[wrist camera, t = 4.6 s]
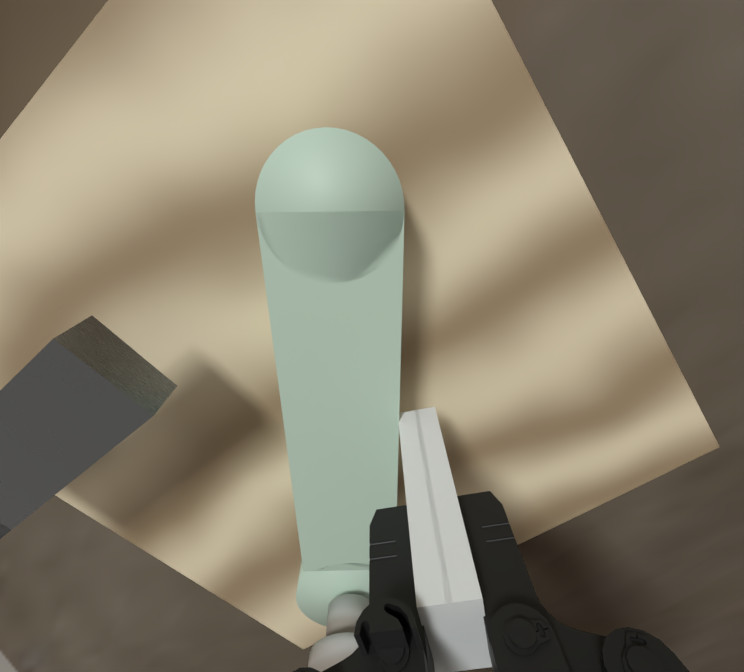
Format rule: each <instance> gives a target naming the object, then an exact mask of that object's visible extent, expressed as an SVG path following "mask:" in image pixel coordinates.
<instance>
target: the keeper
mask: <svg viewBox="0 0 744 672" xmlns="http://www.w3.org/2000/svg"><path fill="white" fill-rule="evenodd" d="M176 387H177V385H176V384H174V383H173V382H172V381H171V380H170V379H168V378H167V377H166V376H165V375H164V374H162V373H161V372H160V371H159V370H158V369H156V368H155V367H154V366H153V365H151V364H150V363H149V362H148V361H147V360H145V359H144V358H143V357H142V356H141V355H139V354H138V353H137V352H136V351H135V350H133V349H132V348H131V347H130V346H129V345H127V344H126V343H125V342H124V341H123V340H121V339H120V338H119V337H118V336H117V335H115V334H114V333H113V332H112V331H111V330H109V329H108V328H107V327H106V326H104V325H103V324H102V323H101V322H100V321H98V320H97V319H96V318H95V317H94V316H90V317H88V318H87V319H85V320H83V321H82V322H80V323H78V324H77V325H75V326H73V327H72V328H70V329H68V330H67V331H65V332H63V333H62V334H60V335H58V336H57V337H55V338H53V339H52V340H51V341H50V342H49V343H48V344H47V345H46V346H45V347H44V348H43V349H42V350H41V351H40V352H39V353H38V354H37V355H36V356H35V357H34V358H33V359H32V360H31V361H30V362H29V363H28V364H27V365H26V366H25V367H24V368H23V369H22V370H21V371H20V372H19V373H18V374H17V375H15V376H14V377H13V378H12V379H11V380H10V381H9V382H8V383H7V384H6V385H5V386H4V387H3V388H2V389H1V390H0V539H1V538H2V537H3V536H4V535H6V534H7V533H8V532H9V531H11V530H12V529H13V528H14V527H16V526H17V525H18V524H19V523H21V522H22V521H23V520H24V519H25V518H27V517H28V516H29V515H30V514H32V513H33V512H34V511H35V510H37V509H38V508H39V507H40V506H42V505H43V504H44V503H45V502H47V501H48V500H49V499H50V498H52V497H53V496H54V495H55V494H57V493H58V492H59V491H60V490H62V489H63V488H64V487H65V486H67V485H68V484H69V483H70V482H72V481H73V480H74V479H75V478H77V477H78V476H79V475H80V474H82V473H83V472H84V471H85V470H87V469H88V468H89V467H90V466H92V465H93V464H94V463H95V462H97V461H98V460H99V459H100V458H102V457H103V456H104V455H105V454H107V453H108V452H109V451H110V450H112V449H113V448H114V447H115V446H117V445H118V444H119V443H120V442H122V441H123V440H124V439H125V438H127V437H128V436H129V435H130V434H132V433H133V432H134V431H135V430H137V429H138V428H139V427H140V426H142V425H143V424H144V423H145V422H147V421H148V420H149V419H150V418H152V417H153V416H154V415H155V413H156V412H157V411H158V410H159V408H160V407H161V406H162V405H163V403H164V402H165V401H166V400H167V398H168V397H169V396H170V395H171V393H172V392H173V391H174V390H175V388H176Z"/></svg>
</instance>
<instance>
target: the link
mask: <svg viewBox="0 0 744 672" xmlns="http://www.w3.org/2000/svg"><path fill="white" fill-rule="evenodd" d="M255 212H256V220H257V228H258V235H259V243H260V250H261V258H262V265H263V273H264V280H265V287H266V295H267V302H268V310H269V317H270V325H271V332H272V340H273V347H274V355H275V362H276V370H277V377H278V385H279V392H280V400H281V407H282V415H283V422H284V430H285V437H286V445H287V452H288V460H289V467H290V475H291V482H292V490H293V497H294V505H295V512H296V520H297V527H298V535H299V542H300V550H301V557H302V560H301V566H300V572H299V579H298V585H297V592H296V601H297V605H298V607H299V608H300V610H301V611H302V612H303V613H304V614H305V616H307V617H308V618H309V619H311V620H312V621H314V622H316V623H318V624H320V625H323V626H326V627H327V617H328V606H329V603H330V602H331V601H332V600H333V599H334V598H336V597H338V596H341V595H345V594H357V595H361V596H364V597H366V598H367V599H369V562H370V559H369V547H370V544H369V529H370V523H371V521H372V519H373V516H374V514H375V512H376V510H377V509H383V508H390V507H396V506H397V485H398V446H399V423H398V421H399V407H400V368H401V329H402V290H403V251H404V213H405V210H404V197H403V190H402V187H401V184H400V180H399V178H398V176H397V173H396V171H395V169H394V168H393V166H392V164H391V163H390V161H389V160H388V159H387V157H386V156H385V155H384V154H383V152H381V151H380V150H379V149H378V148H377V147H376V146H375V145H374V144H373V143H371V142H370V141H368V140H367V139H365V138H364V137H362V136H360V135H358V134H356V133H353V132H350V131H348V130H344V129H339V128H330V127H322V128H313V129H309V130H305V131H302V132H300V133H298V134H295V135H293V136H292V137H290V138H288V139H287V140H285V141H284V142H283V143H282V144H280V145H279V146H278V147H277V148H276V149H275V150H274V151H273V152H272V154H271V155H270V156H269V158H268V159H267V161H266V162H265V164H264V166H263V168H262V170H261V172H260V175H259V178H258V181H257V186H256V191H255Z"/></svg>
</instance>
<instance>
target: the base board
mask: <svg viewBox="0 0 744 672" xmlns="http://www.w3.org/2000/svg"><path fill="white" fill-rule="evenodd" d="M322 127H330V128H339V129H344V130H348V131H350V132H353V133H356V134H358V135H360V136H362V137H364V138H365V139H367V140H368V141H370V142H371V143H373V144H374V145H375V146H376V147H377V148H378V149H379V150H380V151H381V152H383V154H384V155H385V156H386V157H387V159H388V160H389V161H390V163H391V164H392V166H393V168H394V169H395V171H396V173H397V176H398V178H399V180H400V184H401V187H402V190H403V197H404V210H405V213H404V251H403V290H402V329H401V368H400V407H399V413H402V412H408V411H414V410H419V409H425V408H430V407H435V409H436V413H437V417H438V421H439V425H440V429H441V433H442V437H443V441H444V445H445V449H446V453H447V457H448V461H449V465H450V469H451V473H452V477H453V482H454V486H455V490H456V494H457V496H460V495H466V494H473V493H479V492H486V491H490V492H491V493H492V494H493V495H494V496H495V497H496V498H497V499H498V500H499V501H500V502H501V503H502V504H503V507H504V510H505V513H506V515H507V518H508V521H509V524H510V526H511V529H512V532H513V534H514V538H515V540H516V542H517V545H519V544H521V543H523V542H525V541H527V540H529V539H531V538H533V537H535V536H537V535H539V534H541V533H543V532H545V531H548V530H550V529H552V528H554V527H556V526H558V525H560V524H562V523H564V522H566V521H568V520H570V519H572V518H574V517H576V516H578V515H580V514H582V513H585V512H587V511H589V510H591V509H593V508H595V507H597V506H599V505H601V504H603V503H605V502H607V501H609V500H611V499H613V498H615V497H617V496H620V495H622V494H624V493H626V492H628V491H630V490H632V489H634V488H636V487H638V486H640V485H642V484H644V483H646V482H648V481H650V480H652V479H654V478H657V477H659V476H661V475H663V474H665V473H667V472H669V471H671V470H673V469H675V468H677V467H679V466H681V465H683V464H685V463H687V462H689V461H691V460H694V459H696V458H698V457H700V456H702V455H704V454H706V453H708V452H710V451H712V450H714V449H716V448H718V447H719V445H718V443H717V441H716V439H715V437H714V435H713V433H712V431H711V429H710V427H709V425H708V423H707V421H706V419H705V417H704V416H703V414H702V412H701V410H700V408H699V406H698V404H697V402H696V400H695V398H694V396H693V394H692V392H691V390H690V388H689V386H688V384H687V382H686V380H685V378H684V376H683V374H682V372H681V371H680V369H679V367H678V365H677V363H676V361H675V359H674V357H673V355H672V353H671V351H670V349H669V347H668V345H667V343H666V341H665V339H664V337H663V335H662V333H661V331H660V329H659V327H658V326H657V324H656V322H655V320H654V318H653V316H652V314H651V312H650V310H649V308H648V306H647V304H646V302H645V300H644V298H643V296H642V294H641V292H640V290H639V288H638V286H637V284H636V282H635V280H634V279H633V277H632V275H631V273H630V271H629V269H628V267H627V265H626V263H625V261H624V259H623V257H622V255H621V253H620V251H619V249H618V247H617V245H616V243H615V241H614V239H613V237H612V235H611V234H610V232H609V230H608V228H607V226H606V224H605V222H604V220H603V218H602V216H601V214H600V212H599V210H598V208H597V206H596V204H595V202H594V200H593V198H592V196H591V194H590V192H589V190H588V189H587V187H586V185H585V183H584V181H583V179H582V177H581V175H580V173H579V171H578V169H577V167H576V165H575V163H574V161H573V159H572V157H571V155H570V153H569V151H568V149H567V147H566V145H565V144H564V142H563V140H562V138H561V136H560V134H559V132H558V130H557V128H556V126H555V124H554V122H553V120H552V118H551V116H550V114H549V112H548V110H547V108H546V106H545V104H544V102H543V100H542V99H541V97H540V95H539V93H538V91H537V89H536V87H535V85H534V83H533V81H532V79H531V77H530V75H529V73H528V71H527V69H526V67H525V65H524V63H523V61H522V59H521V57H520V55H519V54H518V52H517V50H516V48H515V46H514V44H513V42H512V40H511V38H510V36H509V34H508V32H507V30H506V28H505V26H504V24H503V22H502V20H501V18H500V16H499V14H498V12H497V10H496V8H495V7H494V5H493V3H492V1H491V0H108V1H107V3H106V4H105V5H104V6H103V8H102V9H101V10H100V12H99V13H98V14H97V15H96V17H95V18H94V19H93V21H92V22H91V23H90V24H89V26H88V27H87V28H86V30H85V31H84V32H83V33H82V35H81V36H80V37H79V39H78V40H77V41H76V42H75V44H74V45H73V46H72V48H71V49H70V50H69V51H68V53H67V54H66V55H65V57H64V58H63V59H62V60H61V62H60V63H59V64H58V66H57V67H56V68H55V69H54V71H53V72H52V73H51V75H50V76H49V77H48V78H47V80H46V81H45V82H44V84H43V85H42V86H41V87H40V89H39V90H38V91H37V93H36V94H35V95H34V97H33V98H32V99H31V100H30V102H29V103H28V104H27V106H26V107H25V108H24V109H23V111H22V112H21V113H20V115H19V116H18V117H17V118H16V120H15V121H14V122H13V124H12V125H11V126H10V127H9V129H8V130H7V131H6V133H5V134H4V135H3V136H2V138H1V139H0V390H1V389H2V388H3V387H4V386H5V385H6V384H7V383H8V382H9V381H10V380H11V379H12V378H13V377H14V376H15V375H17V374H18V373H19V372H20V371H21V370H22V369H23V368H24V367H25V366H26V365H27V364H28V363H29V362H30V361H31V360H32V359H33V358H34V357H35V356H36V355H37V354H38V353H39V352H40V351H41V350H42V349H43V348H44V347H45V346H46V345H47V344H48V343H49V342H50V341H51V340H52V339H53V338H55V337H57V336H58V335H60V334H62V333H63V332H65V331H67V330H68V329H70V328H72V327H73V326H75V325H77V324H78V323H80V322H82V321H83V320H85V319H87V318H88V317H90V316H94V317H95V318H96V319H97V320H98V321H100V322H101V323H102V324H103V325H104V326H106V327H107V328H108V329H109V330H111V331H112V332H113V333H114V334H115V335H117V336H118V337H119V338H120V339H121V340H123V341H124V342H125V343H126V344H127V345H129V346H130V347H131V348H132V349H133V350H135V351H136V352H137V353H138V354H139V355H141V356H142V357H143V358H144V359H145V360H147V361H148V362H149V363H150V364H151V365H153V366H154V367H155V368H156V369H158V370H159V371H160V372H161V373H162V374H164V375H165V376H166V377H167V378H168V379H170V380H171V381H172V382H173V383H174V384H176V385H177V387H176V388H175V390H174V391H173V392H172V393H171V395H170V396H169V397H168V398H167V400H166V401H165V402H164V403H163V405H162V406H161V407H160V408H159V410H158V411H157V412H156V413H155V415H154V416H153V417H152V418H150V419H149V420H148V421H147V422H145V423H144V424H143V425H142V426H140V427H139V428H138V429H137V430H135V431H134V432H133V433H132V434H130V435H129V436H128V437H127V438H125V439H124V440H123V441H122V442H120V443H119V444H118V445H117V446H115V447H114V448H113V449H112V450H110V451H109V452H108V453H107V454H105V455H104V456H103V457H102V458H100V459H99V460H98V461H97V462H95V463H94V464H93V465H92V466H90V467H89V468H88V469H87V470H85V471H84V472H83V473H82V474H80V475H79V476H78V477H77V478H75V479H74V480H73V481H72V482H70V483H69V484H68V485H67V486H65V487H64V488H63V489H62V490H60V491H59V492H58V493H57V494H55V495H56V496H57V497H59V498H61V499H62V500H64V501H65V502H67V503H69V504H70V505H72V506H73V507H75V508H77V509H78V510H80V511H82V512H83V513H85V514H86V515H88V516H90V517H91V518H93V519H94V520H96V521H98V522H99V523H101V524H102V525H104V526H106V527H107V528H109V529H111V530H112V531H114V532H115V533H117V534H119V535H120V536H122V537H123V538H125V539H127V540H128V541H130V542H131V543H133V544H135V545H136V546H138V547H139V548H141V549H143V550H144V551H146V552H148V553H149V554H151V555H152V556H154V557H156V558H157V559H159V560H160V561H162V562H164V563H165V564H167V565H168V566H170V567H172V568H173V569H175V570H177V571H178V572H180V573H181V574H183V575H185V576H186V577H188V578H189V579H191V580H193V581H194V582H196V583H197V584H199V585H201V586H202V587H204V588H205V589H207V590H209V591H210V592H212V593H214V594H215V595H217V596H218V597H220V598H222V599H223V600H225V601H226V602H228V603H230V604H231V605H233V606H234V607H236V608H238V609H239V610H241V611H243V612H244V613H246V614H247V615H249V616H251V617H252V618H254V619H255V620H257V621H259V622H260V623H262V624H263V625H265V626H267V627H268V628H270V629H272V630H273V631H275V632H276V633H278V634H280V635H281V636H283V637H284V638H286V639H288V640H289V641H291V642H292V643H294V644H296V645H297V646H299V647H300V648H302V649H305V648H307V647H309V646H311V645H313V644H314V645H313V646H312V648H311V650H310V654H309V663H308V667H312V668H314V669H316V670H318V671H320V672H322V671H324V670H326V669H328V668H330V667H331V666H333V665H335V664H337V663H339V662H340V661H342V660H344V659H345V658H347V657H348V656H350V655H351V654H352V653H353V652H354V651H355V650H356V649H357V648H358V644H357V642H356V640H355V637H354V631H355V626H356V621H357V620H358V618H359V616H360V615H361V613H362V611H363V610H364V609H365V608H366V607H367V606H368V605H369V599H367V598H366V597H364V596H361V595H357V594H345V595H341V596H338V597H336V598H334V599H333V600H332V601H331V602H330V603H329V606H328V617H327V627H326V626H323V625H320V624H318V623H316V622H314V621H312V620H311V619H309V618H308V617H307V616H305V614H304V613H303V612H302V611H301V610H300V608H299V607H298V605H297V601H296V592H297V585H298V579H299V572H300V566H301V560H302V557H301V550H300V542H299V535H298V527H297V520H296V512H295V505H294V497H293V490H292V482H291V475H290V467H289V460H288V452H287V445H286V437H285V430H284V422H283V415H282V407H281V400H280V392H279V385H278V377H277V370H276V362H275V355H274V347H273V340H272V332H271V325H270V317H269V310H268V302H267V295H266V287H265V280H264V273H263V265H262V258H261V250H260V243H259V235H258V228H257V220H256V212H255V191H256V186H257V181H258V178H259V175H260V172H261V170H262V168H263V166H264V164H265V162H266V161H267V159H268V158H269V156H270V155H271V154H272V152H273V151H274V150H275V149H276V148H277V147H278V146H279V145H280V144H282V143H283V142H284V141H285V140H287V139H288V138H290V137H292V136H293V135H295V134H298V133H300V132H302V131H305V130H309V129H313V128H322ZM403 505H407V504H406V494H405V484H404V473H403V463H402V453H401V443H400V433H399V446H398V485H397V506H403Z"/></svg>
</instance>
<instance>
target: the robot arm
mask: <svg viewBox="0 0 744 672" xmlns="http://www.w3.org/2000/svg"><path fill="white" fill-rule="evenodd" d="M398 423H399V433H400V443H401V453H402V463H403V473H404V484H405V494H406V504H407V505H403V506H396V507H390V508H383V509H377V510H376V512H375V514H374V516H373V519H372V521H371V523H370V529H369V544H370V547H369V559H370V562H369V605H368V606H367V607H366V608H365V609H364V610H363V611H362V613H361V615H360V616H359V618H358V620H357V621H356V626H355V631H354V637H355V640H356V642H357V644H358V648H357V649H356V650H355V651H354V652H353V653H352V654H351V655H350V656H348V657H347V658H345V659H344V660H342V661H340V662H339V663H337V664H335V665H333V666H331V667H330V668H328V669H326V670H324V671H322V672H455V671H464V670H471V669H479V668H488V667H492V668H493V672H689V671H688V670H687V668H686V667H685V666H684V665H683V664H682V662H681V661H680V660H679V659H678V658H677V656H676V655H675V654H674V653H673V652H672V651H671V650H670V649H669V648H668V647H667V646H666V645H664V644H663V643H662V642H661V641H660V640H659V639H657V638H655V637H654V636H652V635H650V634H648V633H646V632H645V631H642V630H638V629H633V628H629V627H627V628H622V629H616V630H614V631H613V632H612V633H610V634H609V635H608V636H607V637H605V636H600V635H596V634H592V633H588V632H583V631H579V630H576V629H573V628H570V627H567V626H565V625H564V624H562V623H560V622H559V621H557V620H555V619H554V618H553V617H552V616H551V615H550V614H549V613H548V612H547V611H546V610H545V609H544V607H543V606H542V605H541V604H540V602H539V600H538V598H537V596H536V594H535V591H534V588H533V586H532V583H531V580H530V577H529V575H528V572H527V569H526V567H525V564H524V561H523V559H522V556H521V553H520V550H519V548H518V545H517V542H516V540H515V538H514V534H513V532H512V529H511V526H510V524H509V521H508V518H507V515H506V513H505V510H504V507H503V504H502V503H501V502H500V501H499V500H498V499H497V498H496V497H495V496H494V495H493V494H492V493H491V492H490V491H486V492H479V493H473V494H466V495H460V496H457V494H456V490H455V486H454V482H453V477H452V473H451V469H450V465H449V461H448V457H447V453H446V449H445V445H444V441H443V437H442V433H441V429H440V425H439V421H438V417H437V413H436V409H435V407H430V408H425V409H419V410H414V411H408V412H402V413H399V421H398ZM293 672H320V671H318V670H316V669H314V668H312V667H307V668H299V669H297V670H295V671H293Z"/></svg>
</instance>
